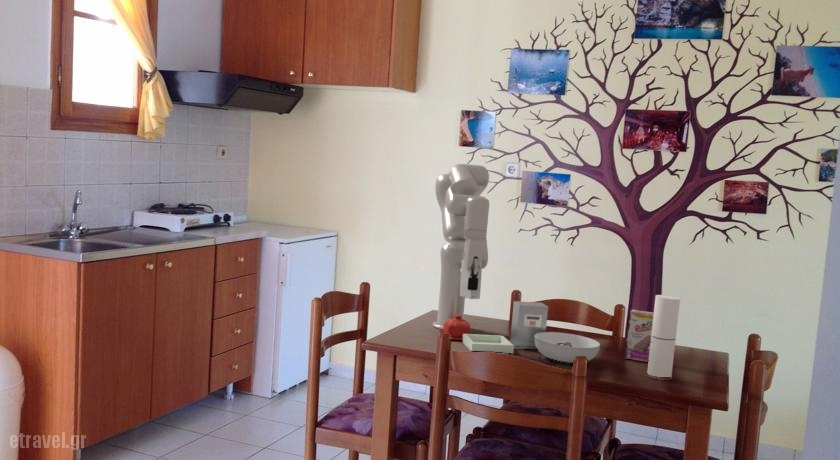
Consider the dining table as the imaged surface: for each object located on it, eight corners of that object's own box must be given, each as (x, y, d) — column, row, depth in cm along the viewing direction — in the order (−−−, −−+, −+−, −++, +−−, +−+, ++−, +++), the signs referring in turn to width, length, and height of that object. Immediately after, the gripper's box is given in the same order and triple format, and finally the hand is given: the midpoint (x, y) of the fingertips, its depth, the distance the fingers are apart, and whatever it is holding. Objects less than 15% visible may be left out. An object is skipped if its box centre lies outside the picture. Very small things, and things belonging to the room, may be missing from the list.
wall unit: (506, 342, 264) (510, 300, 263) (539, 344, 266) (543, 302, 265) (513, 349, 256) (517, 305, 254) (547, 350, 258) (552, 307, 256)
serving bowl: (594, 372, 234) (597, 350, 233) (527, 361, 240) (529, 340, 239) (601, 358, 253) (603, 337, 253) (538, 348, 260) (540, 328, 259)
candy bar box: (624, 359, 254) (629, 311, 252) (625, 356, 258) (630, 308, 257) (659, 365, 250) (664, 316, 249) (659, 361, 255) (665, 313, 254)
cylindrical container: (657, 381, 229) (666, 299, 227) (641, 374, 236) (650, 294, 234) (676, 380, 232) (685, 299, 230) (660, 373, 239) (668, 295, 237)
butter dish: (476, 343, 261) (478, 318, 260) (443, 341, 259) (445, 316, 259) (469, 335, 272) (471, 311, 272) (437, 333, 271) (439, 310, 270)
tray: (462, 341, 260) (462, 333, 260) (501, 343, 263) (502, 335, 262) (471, 351, 247) (472, 343, 246) (513, 353, 249) (513, 345, 249)
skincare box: (480, 299, 252) (483, 262, 251) (470, 299, 249) (473, 262, 248) (468, 295, 257) (471, 259, 256) (458, 296, 254) (461, 260, 253)
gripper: (459, 231, 260) (455, 282, 261) (468, 236, 242) (463, 291, 244) (481, 233, 260) (476, 284, 262) (491, 238, 243) (486, 293, 245)
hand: (470, 287), depth 253 cm, fingers closed on skincare box, 7 cm apart
